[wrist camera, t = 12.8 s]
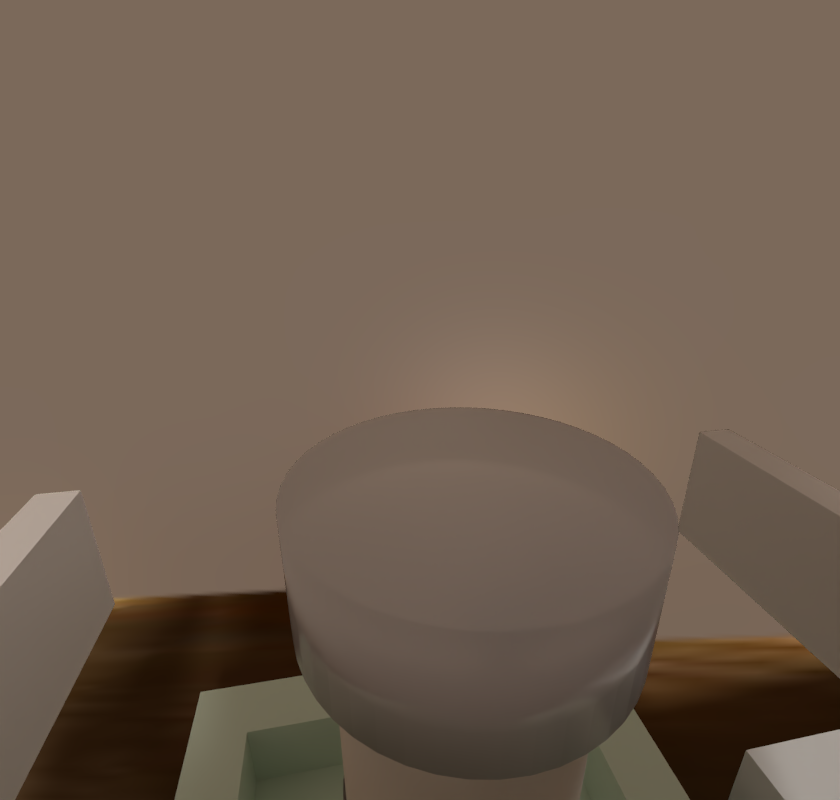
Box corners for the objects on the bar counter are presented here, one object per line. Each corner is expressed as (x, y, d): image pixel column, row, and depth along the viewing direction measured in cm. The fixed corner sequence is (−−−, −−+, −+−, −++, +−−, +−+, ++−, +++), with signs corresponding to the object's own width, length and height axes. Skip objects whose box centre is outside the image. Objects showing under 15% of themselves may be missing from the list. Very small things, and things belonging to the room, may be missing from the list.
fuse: (515, 821, 14) (561, 398, 9) (608, 1116, 10) (794, 587, 5) (338, 861, 13) (288, 419, 8) (348, 1206, 9) (250, 676, 4)
